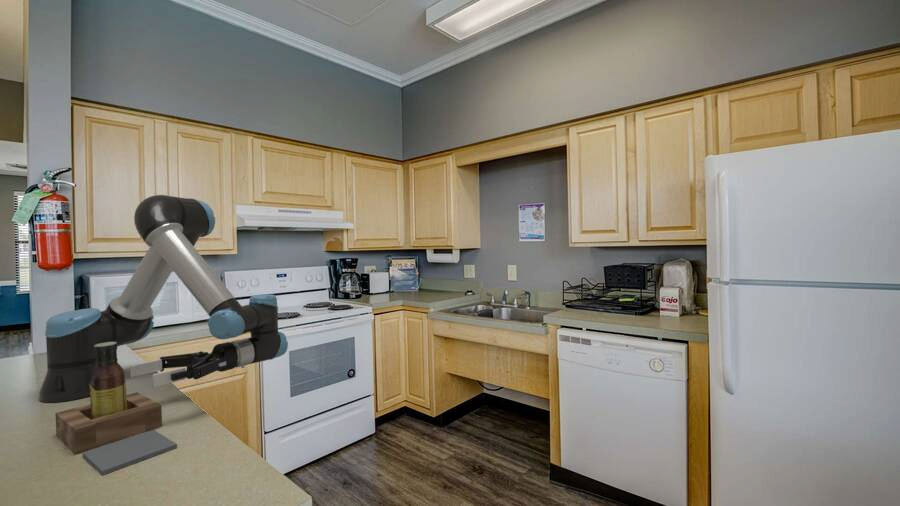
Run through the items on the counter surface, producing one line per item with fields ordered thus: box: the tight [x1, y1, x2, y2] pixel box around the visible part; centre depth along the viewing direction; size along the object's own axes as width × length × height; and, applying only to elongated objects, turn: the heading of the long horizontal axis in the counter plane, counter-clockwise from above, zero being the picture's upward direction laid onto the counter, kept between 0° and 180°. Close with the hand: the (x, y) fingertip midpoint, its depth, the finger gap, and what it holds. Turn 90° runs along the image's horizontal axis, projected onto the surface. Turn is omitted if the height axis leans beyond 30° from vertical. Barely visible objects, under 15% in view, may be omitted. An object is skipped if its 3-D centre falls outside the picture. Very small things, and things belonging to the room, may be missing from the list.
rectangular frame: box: [55, 391, 163, 455], centre depth 92 cm, size 15×15×5 cm
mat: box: [82, 429, 178, 476], centre depth 82 cm, size 12×12×1 cm
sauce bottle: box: [89, 342, 128, 419], centre depth 92 cm, size 7×6×20 cm
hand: (141, 375), depth 97 cm, fingers open, 13 cm apart
